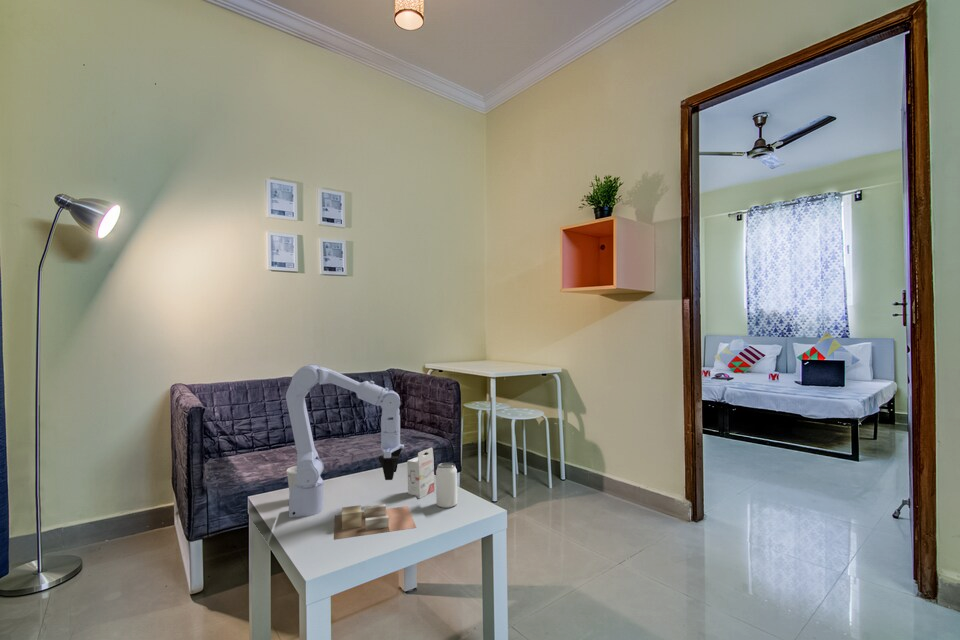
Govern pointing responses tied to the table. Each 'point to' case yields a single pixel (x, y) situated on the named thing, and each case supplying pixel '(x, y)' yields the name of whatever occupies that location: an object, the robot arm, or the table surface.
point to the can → (446, 485)
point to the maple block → (351, 517)
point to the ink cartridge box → (421, 474)
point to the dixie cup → (291, 476)
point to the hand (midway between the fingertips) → (390, 475)
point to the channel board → (376, 521)
